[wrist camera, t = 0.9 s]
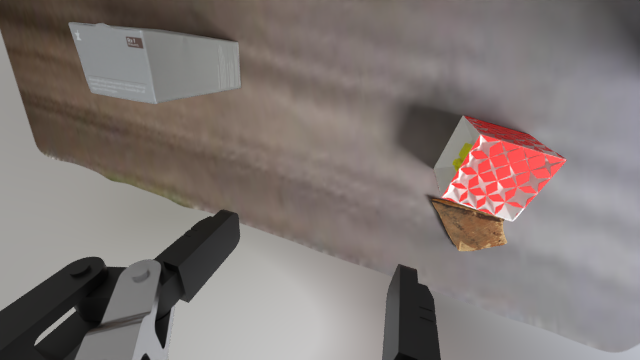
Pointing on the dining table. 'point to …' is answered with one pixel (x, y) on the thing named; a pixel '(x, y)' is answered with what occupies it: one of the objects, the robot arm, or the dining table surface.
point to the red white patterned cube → (494, 168)
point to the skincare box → (154, 62)
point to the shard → (470, 226)
